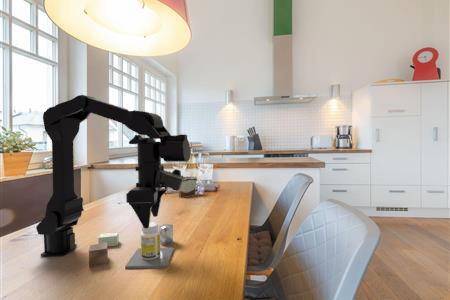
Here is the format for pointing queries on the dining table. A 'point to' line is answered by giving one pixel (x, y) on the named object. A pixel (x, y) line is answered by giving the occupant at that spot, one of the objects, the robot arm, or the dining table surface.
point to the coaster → (159, 262)
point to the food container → (188, 187)
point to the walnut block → (98, 254)
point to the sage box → (109, 239)
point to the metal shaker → (166, 234)
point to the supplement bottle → (150, 242)
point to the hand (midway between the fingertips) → (151, 221)
